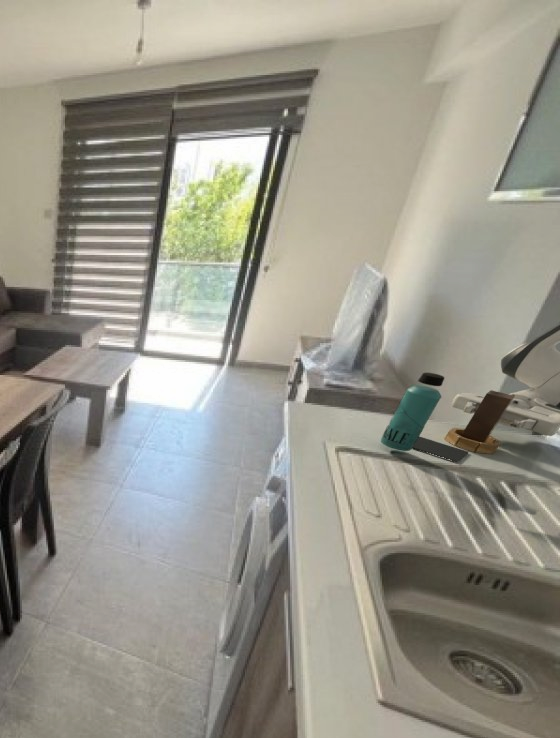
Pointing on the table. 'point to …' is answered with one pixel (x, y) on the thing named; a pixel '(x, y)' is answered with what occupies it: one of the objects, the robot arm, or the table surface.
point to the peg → (487, 416)
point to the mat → (439, 449)
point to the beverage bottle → (413, 413)
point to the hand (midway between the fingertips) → (491, 416)
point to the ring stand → (471, 442)
